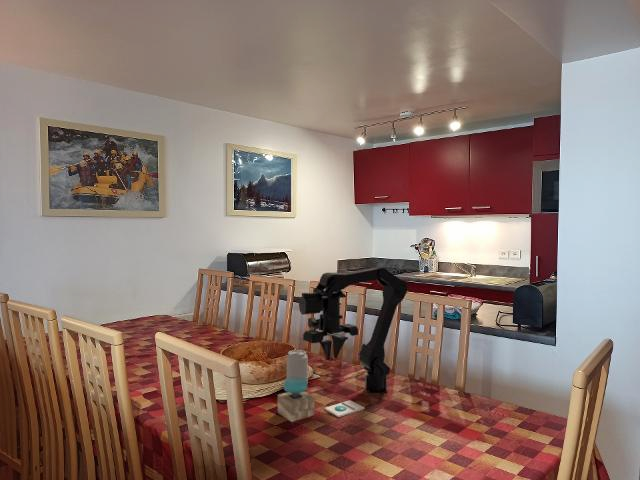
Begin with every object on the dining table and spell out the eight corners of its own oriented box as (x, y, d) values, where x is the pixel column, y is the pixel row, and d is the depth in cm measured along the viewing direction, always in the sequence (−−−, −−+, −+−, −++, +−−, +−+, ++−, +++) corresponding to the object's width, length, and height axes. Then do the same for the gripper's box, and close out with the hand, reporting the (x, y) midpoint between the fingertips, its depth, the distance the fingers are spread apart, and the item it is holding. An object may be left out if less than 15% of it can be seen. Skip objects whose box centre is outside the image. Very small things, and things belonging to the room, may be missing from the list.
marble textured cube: (299, 406, 143) (299, 389, 143) (314, 415, 137) (314, 397, 137) (277, 412, 139) (277, 394, 139) (291, 422, 132) (291, 403, 132)
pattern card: (349, 401, 147) (349, 399, 147) (364, 409, 141) (364, 406, 141) (324, 409, 141) (324, 407, 141) (338, 417, 135) (338, 415, 135)
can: (282, 387, 160) (282, 353, 160) (293, 380, 167) (293, 347, 166) (301, 390, 157) (300, 356, 156) (311, 383, 163) (311, 350, 163)
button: (299, 391, 142) (299, 376, 142) (311, 398, 137) (311, 382, 137) (279, 396, 138) (279, 381, 138) (291, 404, 133) (291, 387, 133)
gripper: (338, 304, 160) (339, 348, 161) (293, 311, 150) (294, 358, 150) (359, 309, 151) (359, 356, 152) (312, 317, 141) (313, 367, 141)
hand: (331, 359), depth 149 cm, fingers open, 3 cm apart
